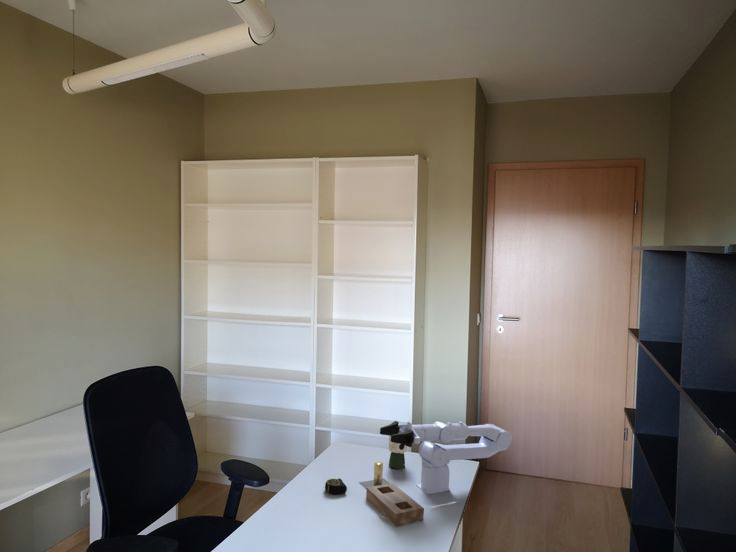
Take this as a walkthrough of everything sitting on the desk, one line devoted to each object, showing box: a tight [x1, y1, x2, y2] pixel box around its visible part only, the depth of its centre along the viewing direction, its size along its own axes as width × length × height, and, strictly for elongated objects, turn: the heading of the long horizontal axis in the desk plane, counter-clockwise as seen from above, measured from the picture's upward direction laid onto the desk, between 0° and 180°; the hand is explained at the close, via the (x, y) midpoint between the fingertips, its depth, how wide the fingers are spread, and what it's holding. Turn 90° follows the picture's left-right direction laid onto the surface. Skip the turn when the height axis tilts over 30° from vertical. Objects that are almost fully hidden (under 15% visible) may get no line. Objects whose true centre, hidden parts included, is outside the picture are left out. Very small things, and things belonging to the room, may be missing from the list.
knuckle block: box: [365, 482, 425, 528], centre depth 187 cm, size 10×20×4 cm, turn 27°
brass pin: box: [373, 461, 384, 486], centre depth 203 cm, size 3×3×8 cm
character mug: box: [388, 432, 408, 470], centre depth 221 cm, size 11×7×13 cm, turn 144°
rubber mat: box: [358, 477, 390, 491], centre depth 203 cm, size 10×10×1 cm
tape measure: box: [324, 478, 348, 495], centre depth 198 cm, size 7×7×4 cm
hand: (385, 434), depth 194 cm, fingers open, 7 cm apart
